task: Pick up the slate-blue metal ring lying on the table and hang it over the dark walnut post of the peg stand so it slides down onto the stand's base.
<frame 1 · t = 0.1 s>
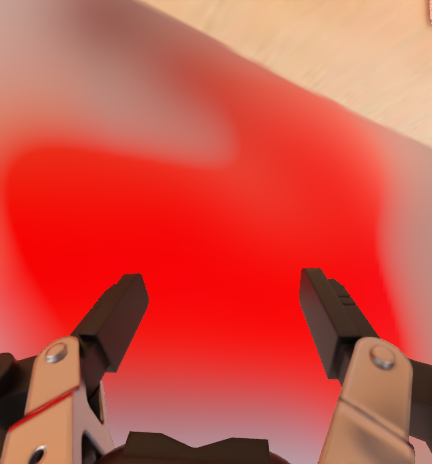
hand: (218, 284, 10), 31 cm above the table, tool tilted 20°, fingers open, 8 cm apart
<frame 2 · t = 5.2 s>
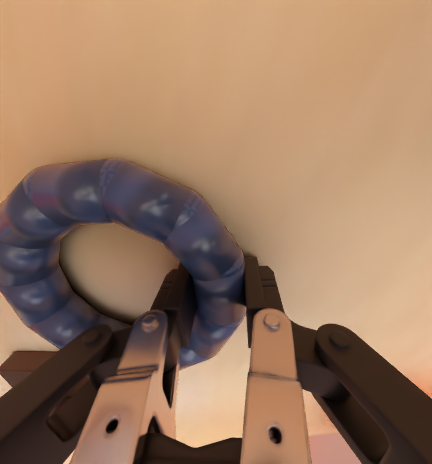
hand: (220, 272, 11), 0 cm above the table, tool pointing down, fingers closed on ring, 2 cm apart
ring: (124, 286, 11), point 1 cm above the table, touching gripper
peg stand: (85, 384, 18), on the table
when the fingers open (10 cm above the table, at t = 10.9 s): ring drops 8 cm, resting on peg stand.
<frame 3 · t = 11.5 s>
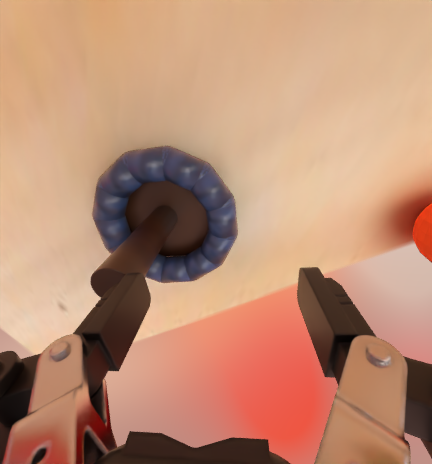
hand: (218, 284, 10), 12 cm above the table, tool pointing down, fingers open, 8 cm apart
ring: (166, 223, 19), point 3 cm above the table, touching peg stand
peg stand: (169, 211, 21), on the table
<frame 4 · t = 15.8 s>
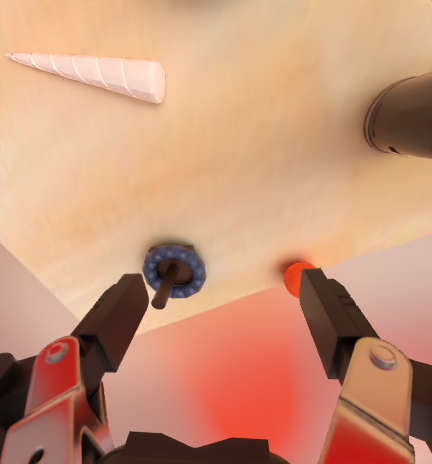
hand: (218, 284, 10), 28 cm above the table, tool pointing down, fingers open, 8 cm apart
unicorn horn: (95, 76, 31), on the table
clementine: (299, 267, 43), on the table
ring: (174, 272, 42), point 3 cm above the table, touching peg stand
peg stand: (175, 264, 45), on the table
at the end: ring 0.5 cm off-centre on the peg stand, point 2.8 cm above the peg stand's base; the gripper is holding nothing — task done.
